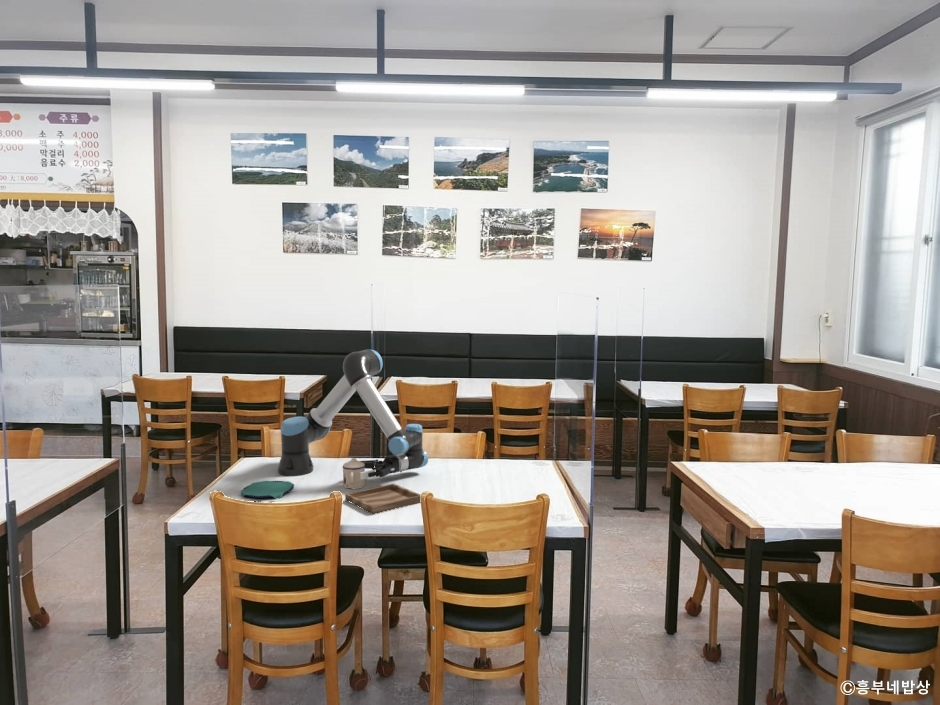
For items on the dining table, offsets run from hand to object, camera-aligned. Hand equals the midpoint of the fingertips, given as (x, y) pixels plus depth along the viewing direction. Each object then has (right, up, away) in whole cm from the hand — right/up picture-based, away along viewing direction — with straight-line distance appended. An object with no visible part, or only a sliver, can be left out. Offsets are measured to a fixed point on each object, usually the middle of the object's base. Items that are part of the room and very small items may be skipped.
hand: (351, 472), depth 261 cm
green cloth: (-33, -8, -10) cm, 35 cm away
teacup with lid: (+1, -7, +2) cm, 7 cm away
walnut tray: (+15, -8, -16) cm, 24 cm away
